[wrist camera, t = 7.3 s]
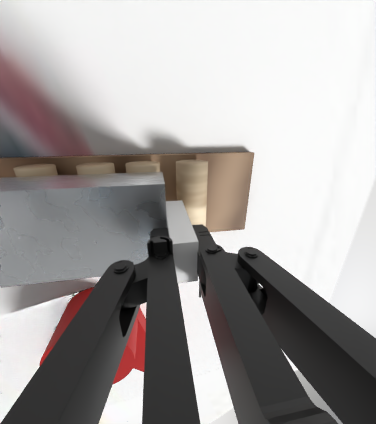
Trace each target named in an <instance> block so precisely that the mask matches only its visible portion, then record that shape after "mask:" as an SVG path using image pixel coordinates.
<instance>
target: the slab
mask: <svg viewBox="0 0 376 424" xmlns="http://www.w3.org/2000/svg"><path fill="white" fill-rule="evenodd" d="M155 228H167V215H166V197H165V182H164V177H163V172H139V173H112V174H85V175H57V176H30V177H3V178H0V287H10V286H19V285H28V284H37V283H46V282H55V281H64V280H73V279H82V278H91V277H100V276H102V275H103V274H104V273H105V271H106V270H107V268H108V267H109V266H110V265H111V264H113V263H115V262H117V261H120V260H129V261H131V262H133V263H134V265H135V264H138V263H141V262H143V261H145V260H146V259H147V258H148V248H147V242H148V240H150V232H151V231H152V230H153V229H155Z"/></svg>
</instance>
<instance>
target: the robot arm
mask: <svg viewBox="0 0 376 424" xmlns="http://www.w3.org/2000/svg"><path fill="white" fill-rule="evenodd" d="M166 215H167V228H155V229H153V230H152V231H151V232H150V240H148V242H147V248H148V258H147V259H146V260H145V261H143V262H141V263H138V264H135V265H134V263H133V262H131V261H129V260H120V261H117V262H115V263H113V264H111V265H110V266H109V267H108V268H107V270H106V271H105V273H104V274H103V275H102V277H101V278H100V280H99V281H98V283H97V284H96V286H95V287H94V289H93V290H92V291H91V293H90V294H89V296H88V297H87V299H86V300H85V302H84V303H83V305H82V306H81V307H80V309H79V310H78V312H77V313H76V315H75V316H74V318H73V319H72V320H71V322H70V323H69V325H68V326H67V328H66V329H65V331H64V332H63V334H62V335H61V336H60V338H59V339H58V341H57V342H56V344H55V345H54V347H53V348H52V350H51V351H50V352H49V354H48V355H47V357H46V358H45V360H44V361H43V363H42V364H41V366H40V367H39V368H38V370H37V371H36V373H35V374H34V376H33V377H32V379H31V380H30V382H29V383H28V384H27V386H26V387H25V389H24V390H23V392H22V393H21V395H20V396H19V397H18V399H17V400H16V402H15V403H14V405H13V406H12V408H11V409H10V411H9V412H8V413H7V415H6V416H5V418H4V419H3V421H2V422H1V424H98V423H99V420H100V418H101V415H102V412H103V409H104V406H105V404H106V401H107V398H108V395H109V392H110V390H111V387H112V384H113V381H114V378H115V376H116V373H117V370H118V367H119V364H120V362H121V359H122V356H123V353H124V350H125V348H126V345H127V342H128V339H129V336H130V333H131V331H132V328H133V325H134V322H135V319H136V317H137V314H138V311H139V308H140V304H143V303H145V302H147V307H146V335H145V362H144V389H143V416H142V424H200V419H199V413H198V407H197V401H196V394H195V388H194V382H193V376H192V369H191V363H190V357H189V351H188V344H187V338H186V332H185V326H184V319H183V313H182V307H181V301H180V294H179V288H178V283H183V282H191V281H198V276H199V297H201V294H202V298H203V301H204V305H205V308H206V312H207V315H208V319H209V322H210V326H211V329H212V333H213V336H214V340H215V343H216V347H217V350H218V354H219V357H220V361H221V364H222V368H223V371H224V375H225V378H226V382H227V385H228V389H229V392H230V396H231V399H232V403H233V406H234V410H235V413H236V417H237V420H238V424H338V423H337V422H336V420H335V419H333V418H332V416H331V415H330V414H328V412H326V411H324V410H322V409H320V408H318V407H316V406H315V405H314V404H313V403H312V401H311V400H310V398H309V397H308V395H307V393H306V392H305V390H304V388H303V386H302V384H301V383H300V381H299V379H298V378H297V376H296V374H295V372H294V371H293V369H292V367H291V365H290V364H289V362H288V360H287V359H286V357H285V355H284V353H285V354H286V355H287V356H288V358H289V359H290V360H291V361H292V362H293V364H294V365H295V366H296V367H297V368H298V370H299V371H300V372H301V373H302V374H303V376H304V377H305V378H306V379H307V381H308V382H309V383H310V384H311V385H312V386H313V388H314V389H315V390H316V391H317V393H318V394H319V395H320V396H321V397H322V399H323V400H324V401H325V402H326V403H327V405H328V406H329V407H330V408H331V410H332V411H333V412H334V413H335V414H336V416H337V417H338V418H339V419H340V420H341V422H342V423H343V424H376V338H374V337H373V336H372V335H370V334H369V333H368V332H366V331H365V330H364V329H363V328H361V327H360V326H359V325H357V324H356V323H355V322H353V321H352V320H351V319H349V318H348V317H347V316H345V315H344V314H343V313H341V312H340V311H339V310H337V309H336V308H335V307H334V306H332V305H331V304H330V303H328V302H327V301H326V300H324V299H323V298H322V297H320V296H319V295H318V294H316V293H315V292H314V291H312V290H311V289H310V288H308V287H307V286H306V285H305V284H303V283H302V282H301V281H299V280H298V279H297V278H295V277H294V276H293V275H291V274H290V273H289V272H287V271H286V270H285V269H283V268H282V267H281V266H279V265H278V264H277V263H276V262H274V261H273V260H272V259H270V258H269V257H268V256H266V255H265V254H264V253H262V252H261V251H259V250H258V249H255V248H252V247H243V248H241V249H240V250H239V251H238V254H234V253H227V252H225V251H224V249H223V248H222V247H221V246H219V245H216V244H215V242H214V240H213V238H212V236H211V235H210V232H209V231H208V229H207V227H205V226H204V225H203V224H200V225H192V224H191V221H190V219H189V216H188V214H187V211H186V209H185V206H184V204H183V201H182V200H180V201H166ZM259 283H260V284H261V285H262V286H263V288H262V287H261V286H260V285H259ZM281 349H282V350H283V352H284V353H283V352H282V350H281Z"/></svg>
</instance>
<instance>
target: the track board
mask: <svg viewBox="0 0 376 424" xmlns="http://www.w3.org/2000/svg"><path fill="white" fill-rule="evenodd" d="M253 159H254V153H253V152H221V153H178V154H135V155H92V156H50V157H7V158H0V178H3V177H16V175H15V172H14V169H13V168H15V167H19V166H25V165H33V164H55V166H56V169H57V173H58V175H78V174H77V169H76V166H77V165H80V164H85V163H93V162H111V163H114V167H115V173H126V166H125V164H126V163H129V162H135V161H157V162H159V163H160V172H163V177H164V182H165V197H166V201H177V190H176V161H180V160H204V161H208V180H207V207H206V227H207V229H208V231H209V232H218V231H230V230H241V229H244V228H245V221H246V213H247V205H248V197H249V190H250V182H251V174H252V166H253Z"/></svg>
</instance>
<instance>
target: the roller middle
mask: <svg viewBox="0 0 376 424" xmlns="http://www.w3.org/2000/svg"><path fill="white" fill-rule="evenodd" d="M125 166H126V173H139V172H160V163H159V162H157V161H135V162H129V163H126V164H125Z"/></svg>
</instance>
